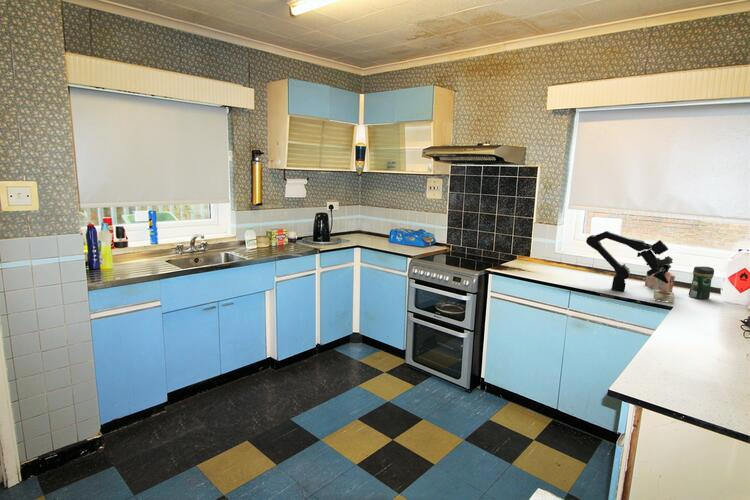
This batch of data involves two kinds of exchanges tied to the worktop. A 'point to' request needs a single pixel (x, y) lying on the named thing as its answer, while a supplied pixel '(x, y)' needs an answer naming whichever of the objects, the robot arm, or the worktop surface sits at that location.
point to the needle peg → (666, 285)
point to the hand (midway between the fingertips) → (669, 282)
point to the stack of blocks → (658, 283)
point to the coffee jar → (701, 282)
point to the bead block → (663, 296)
